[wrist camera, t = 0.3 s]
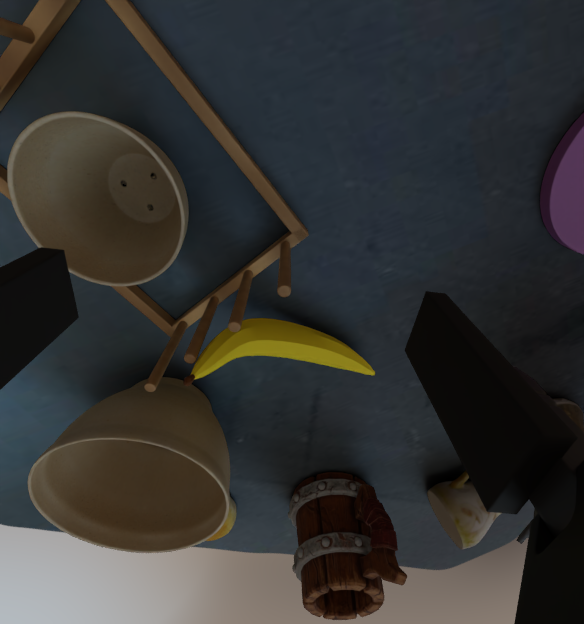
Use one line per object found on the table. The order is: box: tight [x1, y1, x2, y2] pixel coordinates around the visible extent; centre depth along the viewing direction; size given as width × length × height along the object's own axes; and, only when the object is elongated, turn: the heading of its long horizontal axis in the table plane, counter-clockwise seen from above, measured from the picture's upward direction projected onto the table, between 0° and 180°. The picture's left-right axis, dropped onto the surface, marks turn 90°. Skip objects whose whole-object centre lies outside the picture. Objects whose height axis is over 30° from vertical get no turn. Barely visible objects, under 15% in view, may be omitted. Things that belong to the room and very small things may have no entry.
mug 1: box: [288, 472, 407, 620], centre depth 39 cm, size 12×14×15 cm
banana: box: [183, 318, 375, 386], centre depth 28 cm, size 3×19×6 cm, turn 63°
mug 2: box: [427, 470, 501, 549], centre depth 42 cm, size 8×10×10 cm
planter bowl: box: [28, 377, 230, 553], centre depth 32 cm, size 16×16×11 cm
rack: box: [0, 0, 309, 392], centre depth 22 cm, size 16×21×10 cm
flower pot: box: [7, 111, 189, 286], centre depth 23 cm, size 10×10×7 cm
